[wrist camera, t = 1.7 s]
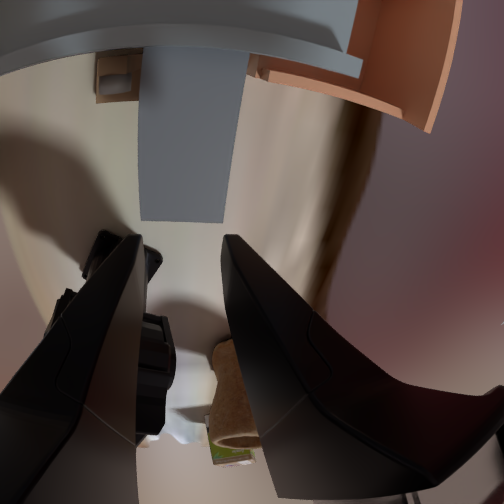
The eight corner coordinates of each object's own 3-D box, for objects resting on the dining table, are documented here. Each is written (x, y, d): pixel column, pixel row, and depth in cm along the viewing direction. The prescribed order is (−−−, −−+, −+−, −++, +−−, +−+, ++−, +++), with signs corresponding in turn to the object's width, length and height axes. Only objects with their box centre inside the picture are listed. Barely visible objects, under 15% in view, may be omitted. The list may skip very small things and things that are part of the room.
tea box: (247, 419, 72) (257, 462, 62) (214, 424, 71) (223, 467, 61) (241, 408, 62) (252, 460, 51) (203, 414, 61) (212, 466, 50)
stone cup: (193, 334, 34) (208, 447, 23) (282, 323, 36) (315, 427, 26) (203, 378, 44) (216, 458, 33) (269, 369, 47) (290, 445, 36)
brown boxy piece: (240, 71, 15) (273, 86, 10) (268, -54, 9) (314, -99, 3) (360, 98, 18) (429, 133, 12) (386, -10, 11) (463, -11, 5)
